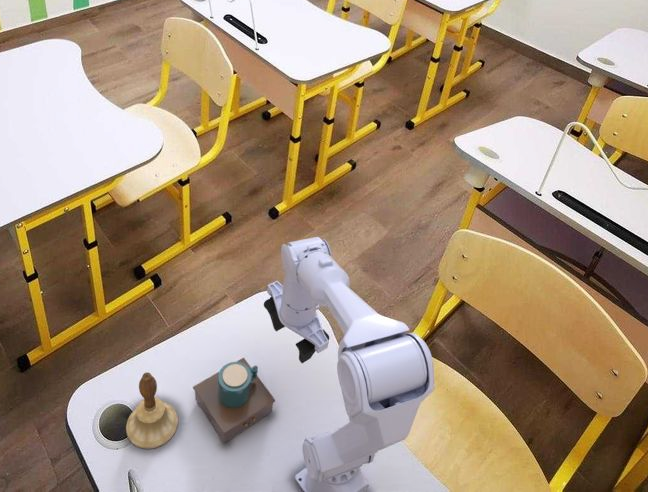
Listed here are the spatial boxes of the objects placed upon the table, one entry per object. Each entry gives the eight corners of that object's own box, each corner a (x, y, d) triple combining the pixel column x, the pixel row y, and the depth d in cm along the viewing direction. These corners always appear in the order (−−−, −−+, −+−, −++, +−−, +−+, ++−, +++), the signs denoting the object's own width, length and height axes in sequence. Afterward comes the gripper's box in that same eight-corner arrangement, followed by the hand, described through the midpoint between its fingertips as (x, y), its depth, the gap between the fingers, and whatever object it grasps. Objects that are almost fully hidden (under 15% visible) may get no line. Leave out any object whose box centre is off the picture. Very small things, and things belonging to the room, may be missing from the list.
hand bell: (172, 395, 102) (167, 345, 91) (183, 439, 97) (179, 391, 86) (122, 410, 99) (110, 360, 88) (130, 456, 93) (119, 409, 83)
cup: (264, 391, 100) (267, 373, 96) (228, 414, 96) (229, 396, 92) (247, 368, 103) (249, 349, 98) (211, 389, 99) (211, 371, 95)
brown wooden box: (274, 415, 102) (276, 401, 99) (224, 448, 97) (224, 434, 93) (242, 371, 107) (243, 357, 104) (193, 400, 102) (192, 386, 98)
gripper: (348, 316, 91) (335, 362, 100) (294, 256, 98) (287, 304, 107) (312, 337, 87) (302, 383, 96) (258, 273, 94) (254, 322, 103)
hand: (292, 343), depth 101 cm, fingers open, 7 cm apart
